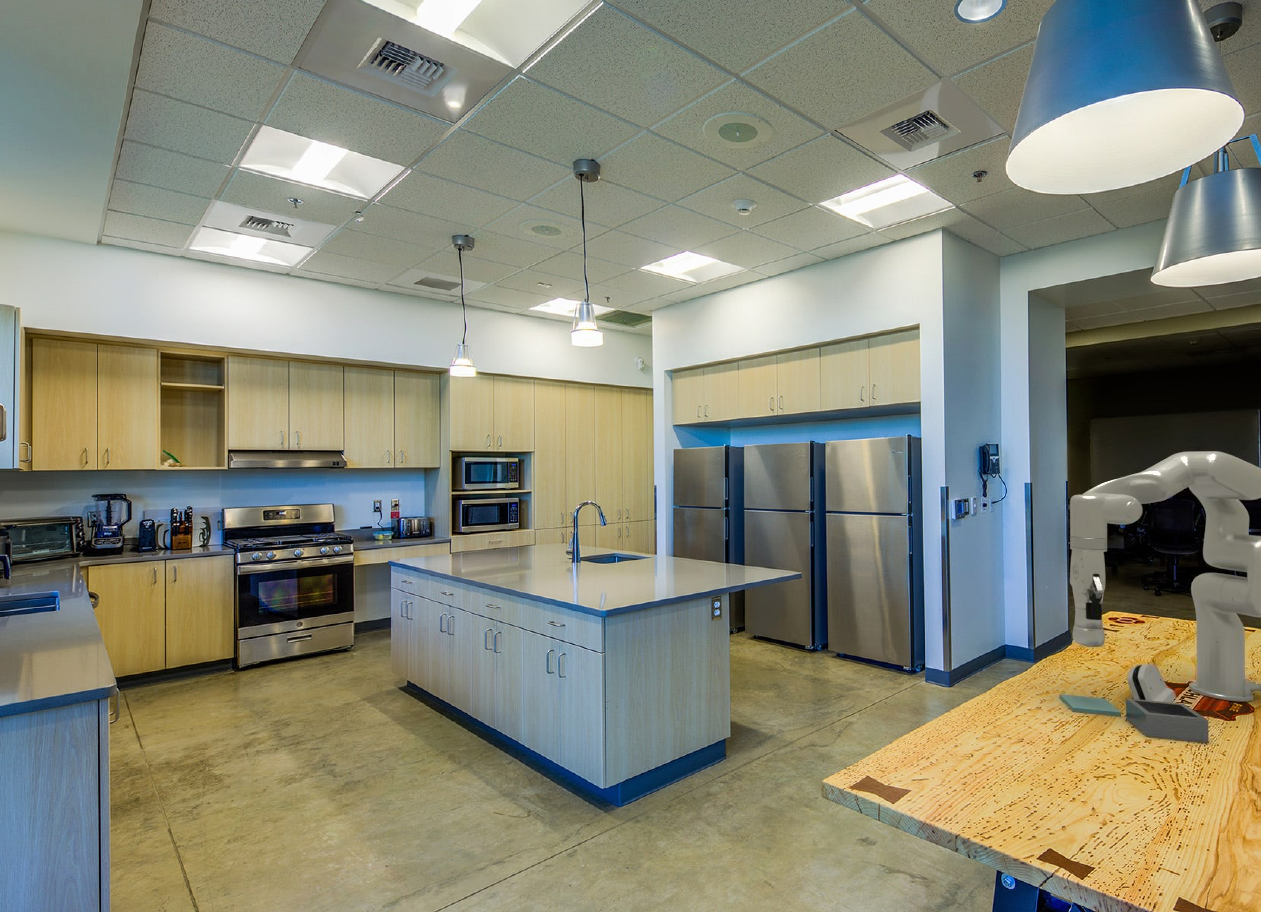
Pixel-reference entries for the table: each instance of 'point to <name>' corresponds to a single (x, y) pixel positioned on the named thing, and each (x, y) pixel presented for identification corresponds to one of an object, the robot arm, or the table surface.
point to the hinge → (1149, 684)
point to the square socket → (1167, 720)
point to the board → (1090, 705)
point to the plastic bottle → (1086, 622)
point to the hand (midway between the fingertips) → (1088, 615)
